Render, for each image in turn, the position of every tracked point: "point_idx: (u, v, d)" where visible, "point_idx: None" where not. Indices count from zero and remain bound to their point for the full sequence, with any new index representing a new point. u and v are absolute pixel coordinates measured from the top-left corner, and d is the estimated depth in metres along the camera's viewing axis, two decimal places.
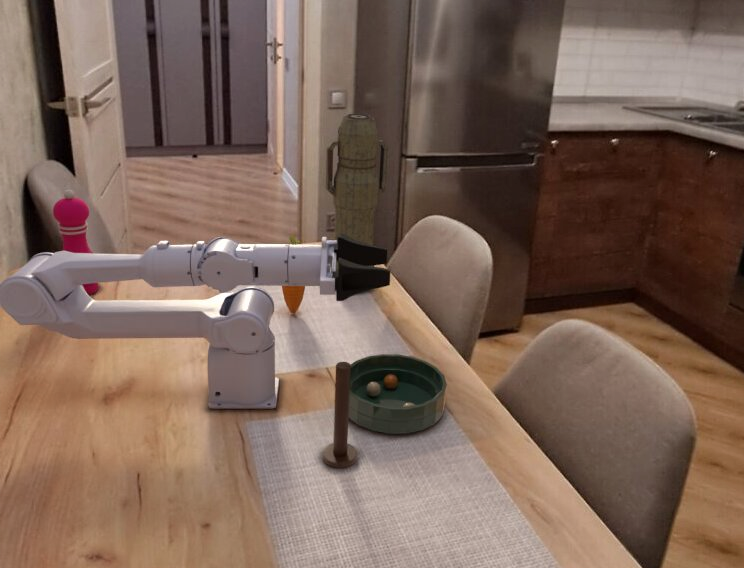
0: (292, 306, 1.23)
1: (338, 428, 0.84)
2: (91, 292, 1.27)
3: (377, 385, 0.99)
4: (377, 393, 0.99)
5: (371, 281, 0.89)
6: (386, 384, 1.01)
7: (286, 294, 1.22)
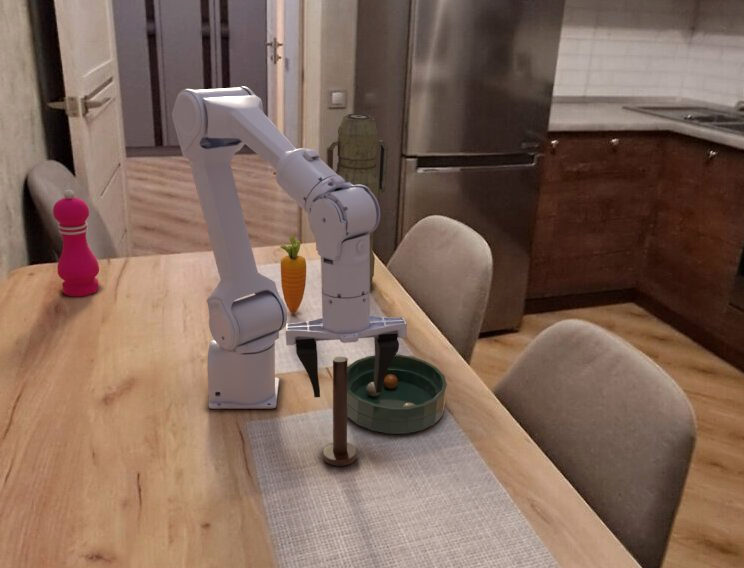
0: (292, 306, 1.23)
1: (336, 424, 0.84)
2: (91, 292, 1.27)
3: None
4: (377, 393, 0.99)
5: None
6: (386, 384, 1.01)
7: (286, 294, 1.22)
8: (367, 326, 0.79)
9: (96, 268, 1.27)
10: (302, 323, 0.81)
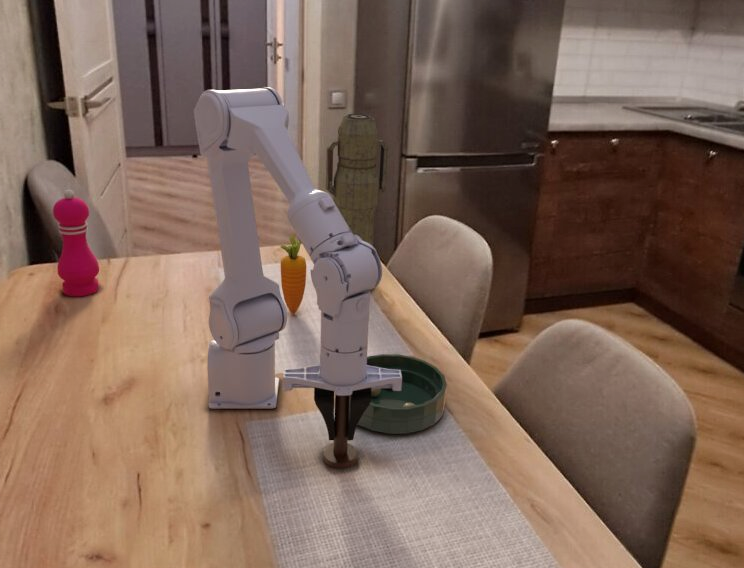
0: (292, 306, 1.23)
1: (338, 428, 0.84)
2: (91, 292, 1.27)
3: None
4: (377, 393, 0.99)
5: None
6: None
7: (286, 294, 1.22)
8: (362, 378, 0.81)
9: (96, 268, 1.27)
10: (300, 369, 0.83)
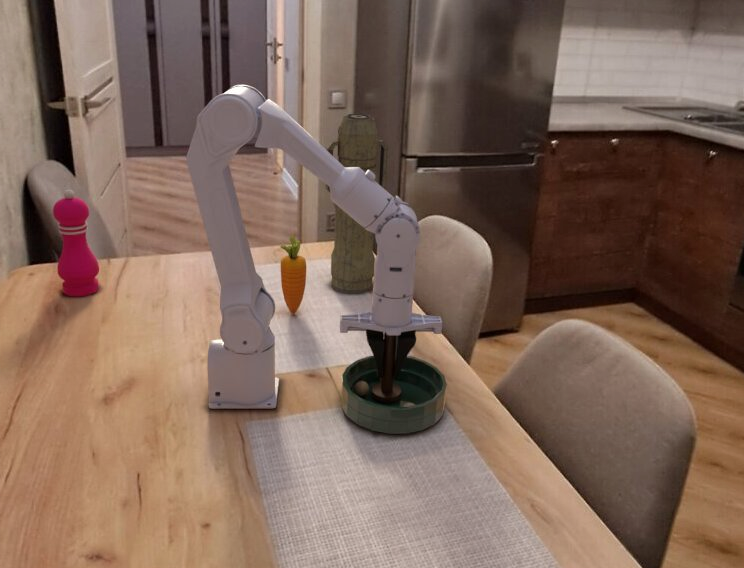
0: (292, 306, 1.23)
1: (386, 367, 0.97)
2: (91, 292, 1.27)
3: (355, 385, 0.99)
4: (362, 387, 0.99)
5: None
6: None
7: (286, 294, 1.22)
8: (409, 322, 0.94)
9: (96, 268, 1.27)
10: (354, 315, 0.95)
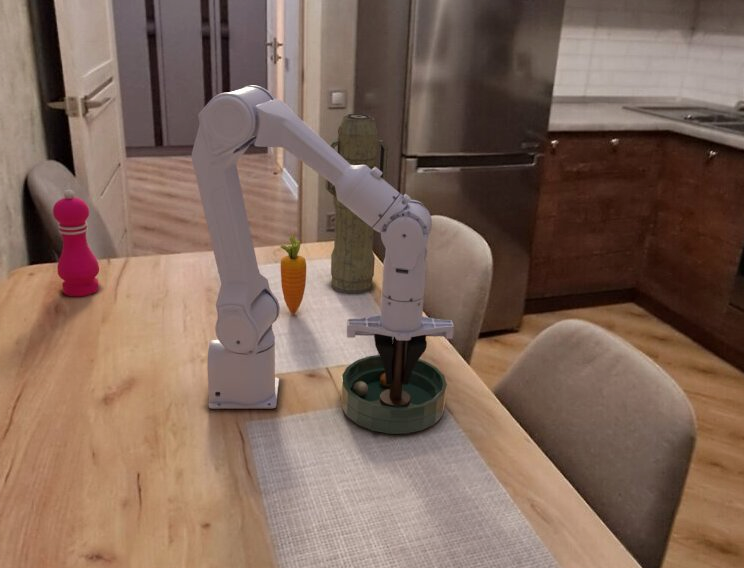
0: (292, 306, 1.23)
1: (394, 373, 0.93)
2: (91, 292, 1.27)
3: (354, 387, 0.99)
4: (360, 388, 0.99)
5: None
6: (382, 382, 1.02)
7: (286, 294, 1.22)
8: (419, 326, 0.90)
9: (96, 268, 1.27)
10: (361, 319, 0.91)
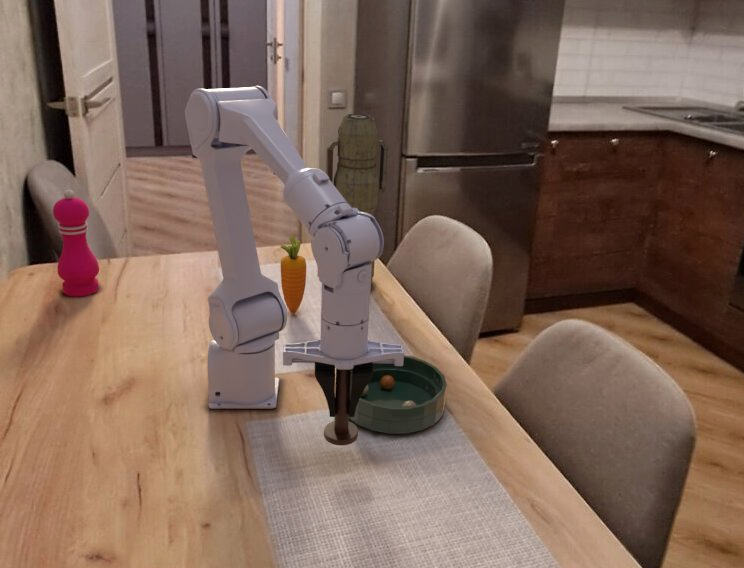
0: (292, 306, 1.23)
1: (339, 404, 0.83)
2: (91, 292, 1.27)
3: None
4: None
5: None
6: (382, 386, 1.01)
7: (286, 294, 1.22)
8: (364, 353, 0.79)
9: (96, 268, 1.27)
10: (300, 344, 0.81)
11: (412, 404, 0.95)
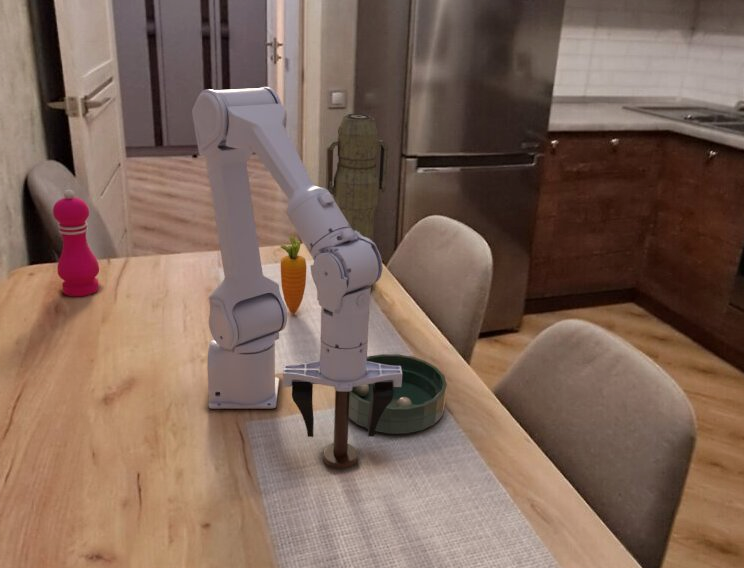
0: (292, 306, 1.23)
1: (338, 428, 0.84)
2: (91, 292, 1.27)
3: (356, 386, 0.99)
4: (362, 389, 0.98)
5: None
6: None
7: (286, 294, 1.22)
8: (363, 374, 0.81)
9: (96, 268, 1.27)
10: (300, 365, 0.82)
11: (401, 397, 0.96)
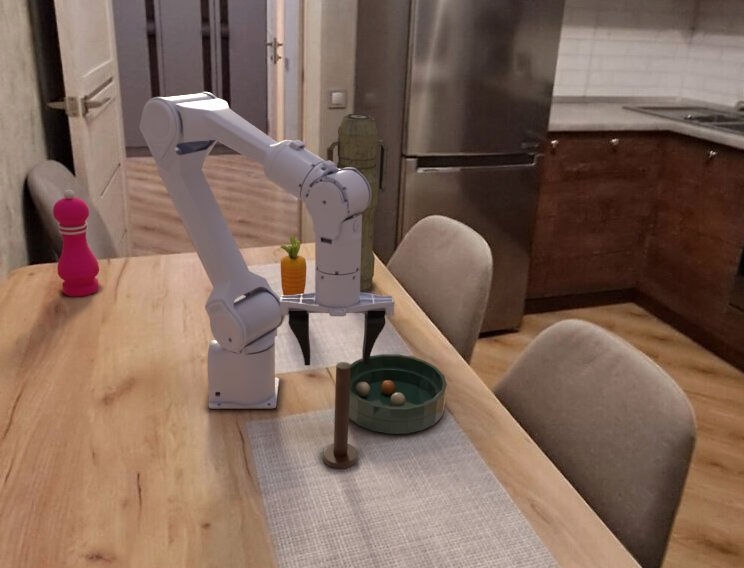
0: None
1: (338, 428, 0.84)
2: (91, 292, 1.27)
3: (357, 386, 0.99)
4: (363, 389, 0.98)
5: None
6: None
7: (286, 294, 1.22)
8: (356, 302, 0.84)
9: (96, 268, 1.27)
10: (296, 295, 0.86)
11: None
